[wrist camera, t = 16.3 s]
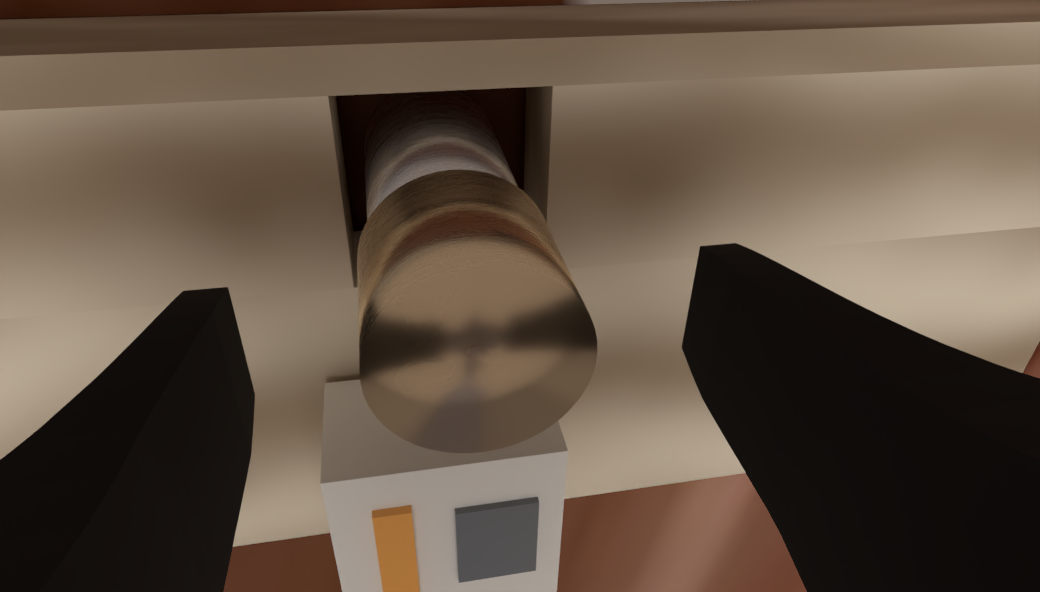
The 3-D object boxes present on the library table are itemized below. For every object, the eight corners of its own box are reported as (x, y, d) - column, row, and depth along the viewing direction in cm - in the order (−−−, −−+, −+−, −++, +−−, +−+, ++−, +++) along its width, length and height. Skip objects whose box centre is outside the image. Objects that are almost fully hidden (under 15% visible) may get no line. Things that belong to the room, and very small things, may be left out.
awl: (494, 213, 18) (576, 446, 12) (354, 211, 17) (360, 459, 11) (509, 78, 16) (618, 265, 10) (354, 69, 15) (358, 266, 9)
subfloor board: (935, 386, 25) (989, 440, 23) (-13, 508, 20) (-55, 591, 18) (1117, -9, 18) (1220, 17, 16) (-306, 27, 13) (-435, 72, 11)
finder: (531, 497, 20) (558, 600, 18) (349, 523, 19) (349, 635, 17) (537, 359, 17) (570, 458, 15) (324, 383, 17) (320, 491, 14)
